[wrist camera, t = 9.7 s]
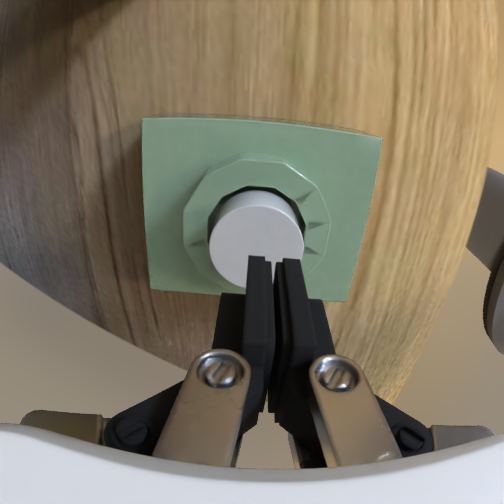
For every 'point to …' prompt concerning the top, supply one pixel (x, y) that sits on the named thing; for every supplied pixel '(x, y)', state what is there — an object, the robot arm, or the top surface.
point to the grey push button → (253, 234)
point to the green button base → (254, 178)
